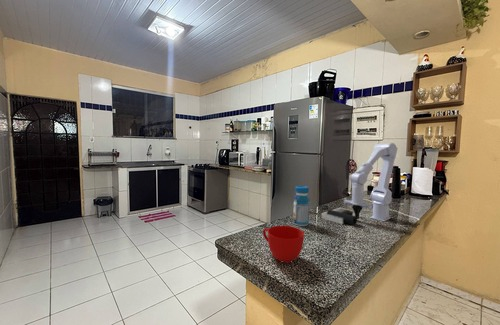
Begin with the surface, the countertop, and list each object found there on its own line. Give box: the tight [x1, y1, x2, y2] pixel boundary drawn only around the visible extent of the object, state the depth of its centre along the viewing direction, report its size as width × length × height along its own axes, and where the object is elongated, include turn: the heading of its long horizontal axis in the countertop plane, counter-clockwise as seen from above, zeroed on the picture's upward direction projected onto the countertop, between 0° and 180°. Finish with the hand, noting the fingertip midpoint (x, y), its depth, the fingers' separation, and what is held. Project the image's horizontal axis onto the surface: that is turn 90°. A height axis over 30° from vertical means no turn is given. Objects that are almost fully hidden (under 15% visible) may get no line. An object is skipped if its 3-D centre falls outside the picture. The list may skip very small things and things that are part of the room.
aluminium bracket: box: [321, 207, 362, 225], centre depth 131 cm, size 21×13×3 cm, turn 129°
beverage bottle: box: [292, 185, 311, 227], centre depth 118 cm, size 8×8×20 cm
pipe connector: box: [326, 209, 358, 226], centre depth 126 cm, size 12×5×15 cm
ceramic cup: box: [262, 225, 305, 263], centre depth 83 cm, size 13×17×10 cm
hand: (357, 218), depth 125 cm, fingers closed, pressing on pipe connector
